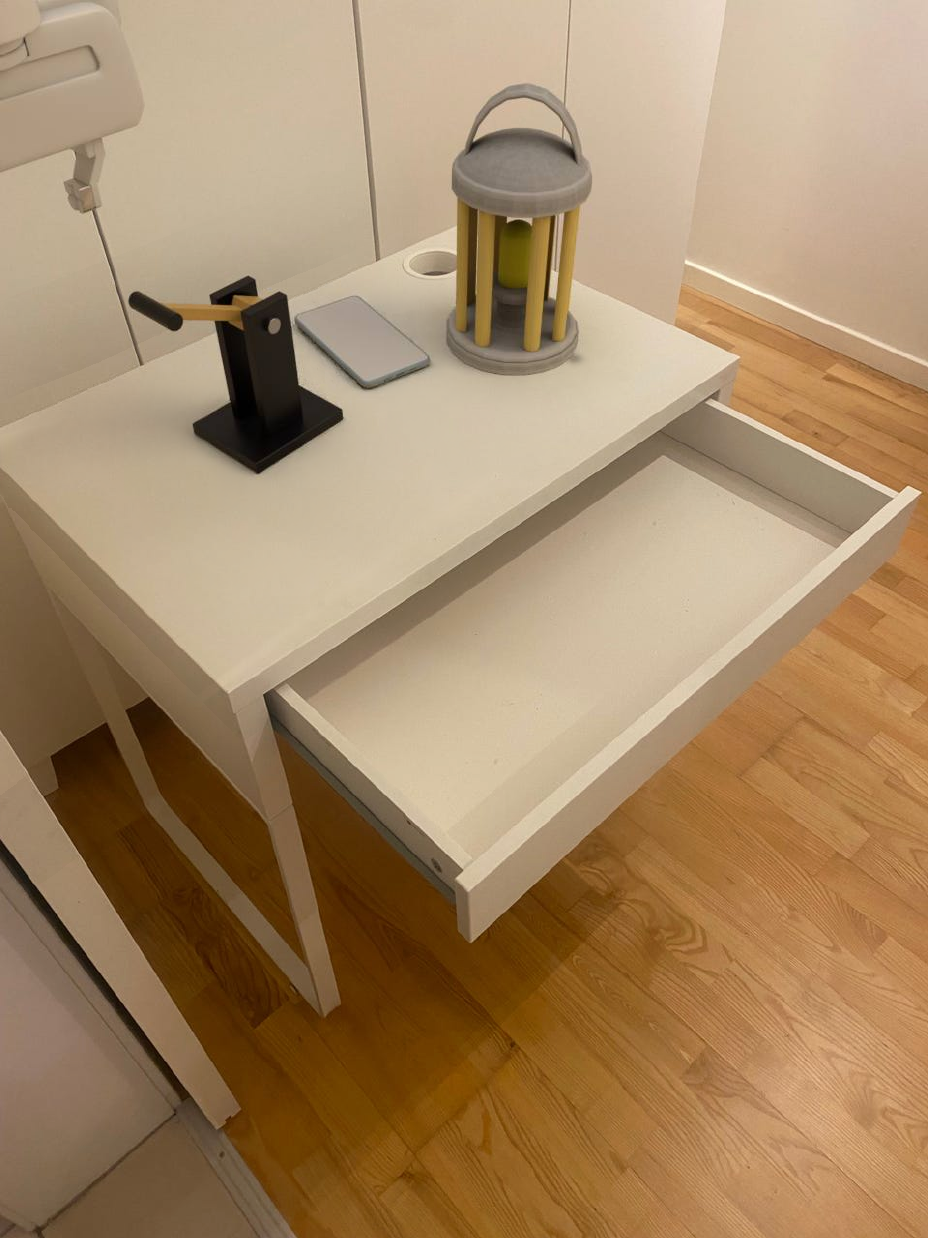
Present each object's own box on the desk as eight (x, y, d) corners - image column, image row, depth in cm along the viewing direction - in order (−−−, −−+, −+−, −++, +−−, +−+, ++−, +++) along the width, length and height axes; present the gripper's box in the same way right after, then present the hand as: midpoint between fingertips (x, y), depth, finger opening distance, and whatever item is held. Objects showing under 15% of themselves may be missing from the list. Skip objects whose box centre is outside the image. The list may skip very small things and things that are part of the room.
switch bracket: (258, 474, 87) (233, 340, 77) (194, 433, 91) (162, 301, 81) (343, 419, 93) (331, 287, 83) (280, 383, 97) (261, 253, 86)
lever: (165, 337, 74) (170, 306, 73) (126, 314, 76) (130, 284, 75) (279, 337, 84) (285, 310, 83) (241, 317, 86) (246, 290, 85)
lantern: (435, 367, 99) (433, 110, 80) (457, 296, 108) (460, 52, 90) (572, 381, 98) (602, 124, 79) (582, 309, 107) (612, 63, 88)
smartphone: (365, 384, 95) (290, 315, 103) (365, 392, 96) (291, 323, 104) (434, 357, 99) (357, 292, 106) (434, 366, 99) (357, 300, 107)
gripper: (76, -54, 61) (126, 169, 71) (-261, 19, 50) (-144, 269, 60) (138, -32, 58) (181, 195, 68) (-204, 49, 47) (-92, 305, 58)
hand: (26, 231), depth 64 cm, fingers open, 8 cm apart
